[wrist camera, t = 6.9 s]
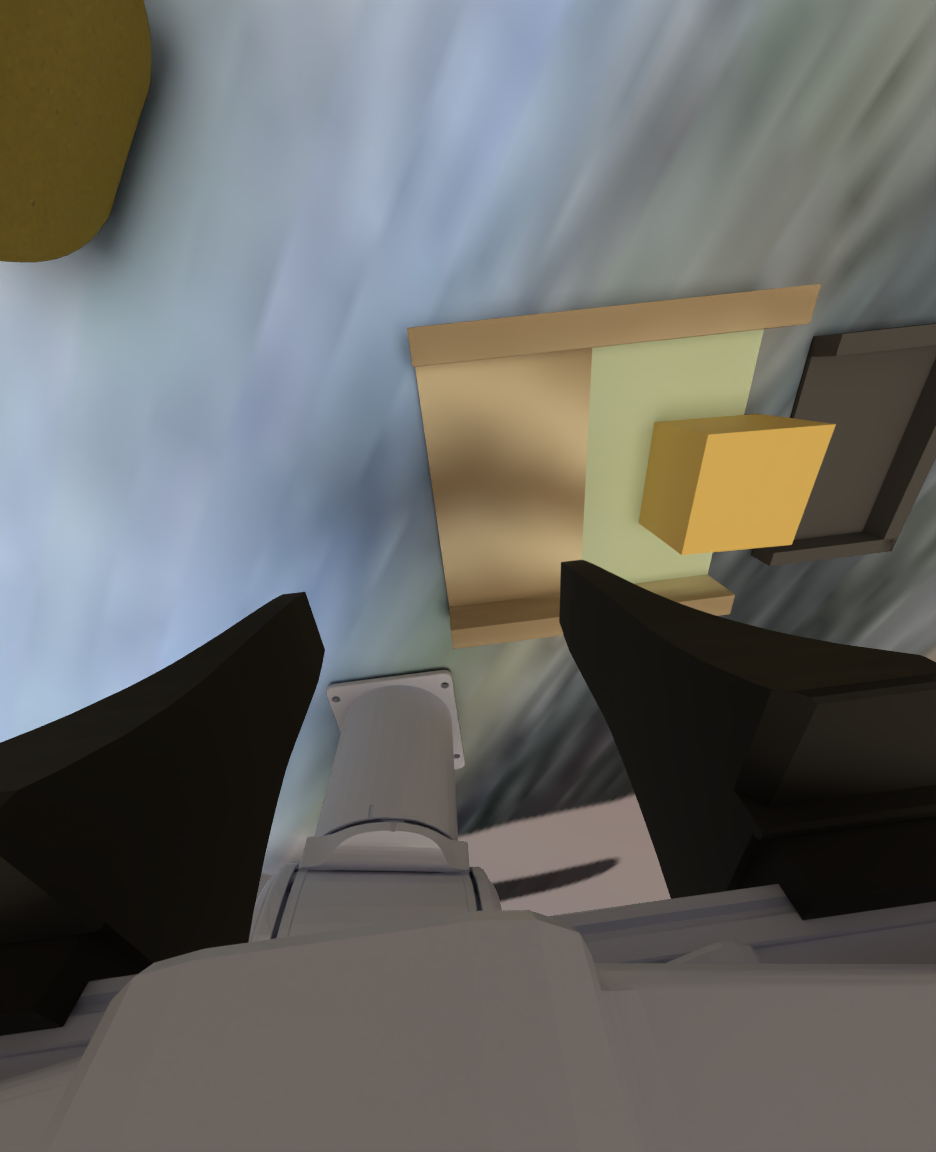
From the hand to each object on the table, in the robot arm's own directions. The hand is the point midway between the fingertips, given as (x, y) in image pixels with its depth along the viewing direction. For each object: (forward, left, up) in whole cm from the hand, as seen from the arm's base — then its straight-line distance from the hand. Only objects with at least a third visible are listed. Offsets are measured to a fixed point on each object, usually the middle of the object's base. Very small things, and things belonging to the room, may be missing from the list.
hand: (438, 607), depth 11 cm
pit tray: (0, -21, -10) cm, 24 cm away
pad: (0, -11, -10) cm, 15 cm away
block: (0, -13, -9) cm, 16 cm away
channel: (0, -7, -10) cm, 12 cm away
